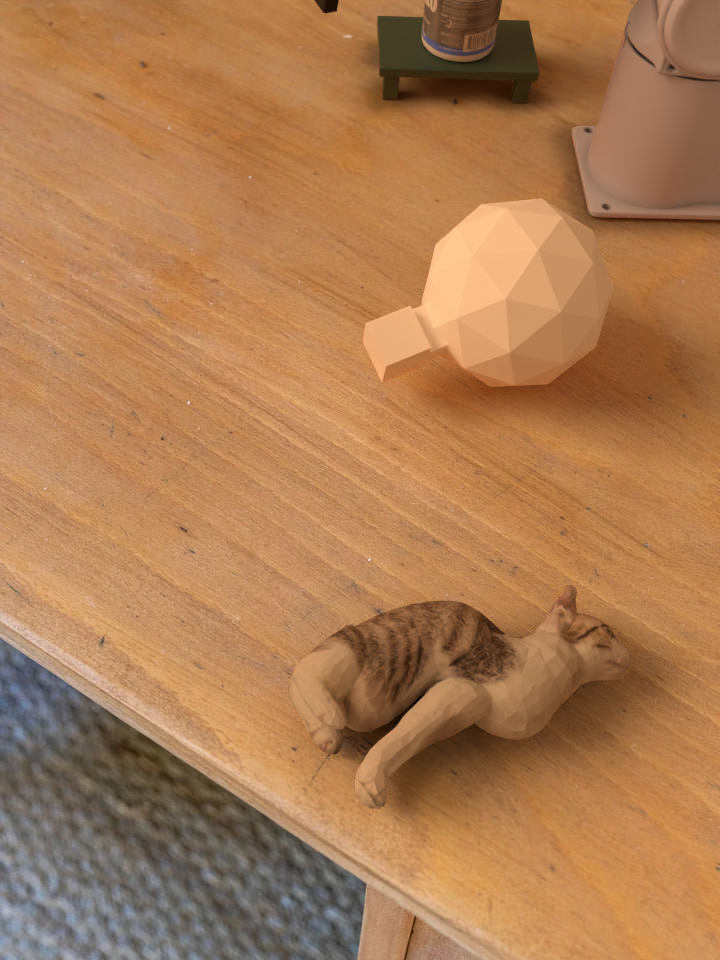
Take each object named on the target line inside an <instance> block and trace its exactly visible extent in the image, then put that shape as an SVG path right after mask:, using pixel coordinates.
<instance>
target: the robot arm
mask: <svg viewBox="0 0 720 960" xmlns="http://www.w3.org/2000/svg"><path fill="white" fill-rule="evenodd" d="M313 1H314V2H315V4H316V5H317V6H318V8H319V9H320V11H321V12H322V13H323V14H331V13H335V12H336V13H337V11H338V6H339V2H340V0H313ZM625 23H626V24H625V26H624V27H625V28H624V30H623V34H622V37H621V40H620V44H619V47H618V51H617V54H616V58H615V60H614V64H613V68H612V71H611V75H610V78H609V81H608V84H607V88H606V91H605V95H604V97H603V101H602V105H601V107H600V108H601V109H600V112H599V115H598V118H597V121H596V125H575V126H573V127H572V129H571V133H570V134H571V135H570V136H571V139H572V144H573V149H574V153H575V158H576V163H577V168H578V171H579V177H580V181H581V184H582V185H581V186H582V190H583V195H584V199H585V203H586V204H585V205H586V209H587V212H588V214H589V215H590V216H591V217H595V218H611V219H612V218H613V219H614V218H615V219H656V220H700V221H702V220H703V221H720V0H637V1H636V2H635V4H634V5H633V6H632V7H631V9H630V11H629V13H628V16H627V19H626V22H625Z"/></svg>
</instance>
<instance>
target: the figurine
mask: <svg viewBox="0 0 720 960" xmlns="http://www.w3.org/2000/svg"><path fill="white" fill-rule="evenodd" d="M577 596H578V589H577V587H576V586H574V585H573V584H568V585H565V587H564V590H563V591H562V593H561V595H560V596H558V597H557V599H556V600H555V601H554V602H553V604H552V606H551V609H550V610H549V612H548V613H547V615H546V618H545V620H544V621H543V622H542V623H539V624H538V626H537V627H536V628H535V630H534V633H531V634H529V635H527V636H524V637H522V638H518V637H517V638H516V637H512V636H510V635H508V633H506V632H504V631H503V630H502V629H500V628H499V627H498V626H497V625H496V624H495V623H494V622H493V621H492V620H490V619H489V618H488V617H487V616H486V615H484V613H482V612H481V611H479V610H478V609H476V608H475V607H473V606H471V605H469V604H466V603H464V602H462V601H455V600H428V601H424V602H417V603H410V604H407V605H403V606H399V607H397V608H393V609H391V610H388V611H385V612H382V613H379V614H377V615H375V616H372V617H371V618H369V619H366V620H365V621H362V622H360V623H358V624H356V625H353V624H348V625H345V626H343V627H342V628H341V629H339V630H337V631H336V632H333V634H331V635H330V636H329V637H327V638H326V639H324V640H323V641H322V642H320V643H319V644H317V645H316V646H315V647H314V648H313V649H312V650H311V651H310V652H309V653H308V654H306V656H305V657H303V658H302V659H301V660H299V661H298V662H297V663H296V665H295V667H294V669H293V671H292V674H291V675H292V676H291V678H290V679H289V680H288V687H287V689H288V695H289V699H290V701H291V704H292V706H293V707H294V709H295V711H296V713H297V714H298V716H299V718H300V720H301V721H302V724H303V725H304V728H305V729H306V731H307V732H308V734H309V736H310V737H311V739H312V740H313V741H314V742H315V744H316V746H318V748H319V749H320V750H321V751H322V752H324V753H326V754H329V755H337V754H338V753H339V752H340V751H341V750H342V747H343V746H344V731H343V730H344V729H345V727H347V728H348V729H350V730H352V731H354V732H357V733H371V732H373V731H374V730H376V729H379V728H380V727H382V726H384V725H387V724H389V723H391V722H392V721H393V720H394V719H395V718H396V717H397V716H399V715H401V714H403V713H404V712H405V711H406V710H407V709H408V708H409V707H411V706H412V705H413V704H414V703H415V702H416V701H417V700H418V699H419V698H420V697H421V696H422V695H423V696H422V697H421V698H420V699H419V700H418V701H417V702H416V703H415V704H414V705H413V706H412V707H411V708H410V709H409V710H408V711H406V713H404V715H403V716H402V717H401V719H400V720H399V722H398V723H397V724H396V726H395V727H394V728H393V729H392V730H390V731H389V732H388V733H387V734H385V735H384V736H383V737H382V738H380V739H379V740H378V741H377V742H376V743H375V744H374V745H373V746H372V747H371V748H370V749H369V750H368V752H367V754H366V755H365V756H364V758H363V760H362V762H361V763H360V764H359V766H358V767H357V771H356V773H355V777H354V793H355V796H356V798H357V799H358V800H359V802H360V804H362V805H364V806H366V807H367V808H370V809H371V810H381V808H385V805H386V803H387V799H388V784H389V780H390V777H391V776H392V775H393V774H394V773H395V772H396V771H397V770H398V769H399V768H400V767H401V766H402V765H403V764H404V763H405V762H407V761H408V760H410V759H411V758H413V757H414V756H416V755H418V754H419V753H421V752H422V751H424V750H425V749H427V748H428V747H429V746H432V745H433V744H435V743H436V742H441V741H445V740H447V739H449V738H451V737H453V736H455V735H457V734H459V732H461V731H463V730H465V729H467V728H470V727H471V726H473V725H475V726H477V727H478V728H479V729H481V730H483V731H485V732H486V733H488V734H490V735H491V736H495V737H499V738H501V739H504V740H512V741H517V740H518V741H519V740H525V739H529V738H531V737H533V736H534V735H536V734H537V733H539V732H540V731H542V730H543V729H544V728H545V727H546V726H547V724H548V723H549V722H550V721H551V720H552V718H553V716H554V714H555V713H556V712H557V710H558V709H559V708H560V707H561V706H562V705H563V704H564V703H565V702H566V701H567V700H568V699H569V698H570V697H571V696H572V695H574V693H575V691H576V690H577V689H578V688H579V687H580V686H582V685H584V684H586V683H589V682H595V681H596V682H597V681H606V682H607V681H617V680H621V679H623V678H624V677H625V675H626V674H627V672H628V671H629V670H630V667H631V665H632V661H633V659H632V658H633V656H632V653H631V652H630V650H629V649H627V647H626V646H625V644H624V643H623V642H622V640H620V639H619V638H618V636H617V634H616V632H615V630H614V629H613V628H612V627H611V626H610V625H609V623H607V622H606V621H603V620H601V619H599V618H597V617H594V616H592V615H589V614H585V613H580V612H578V609H577Z"/></svg>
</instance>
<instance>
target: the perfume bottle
mask: <svg viewBox="0 0 720 960" xmlns="http://www.w3.org/2000/svg"><path fill="white" fill-rule="evenodd" d="M431 257H432V258H431V261H430V262H431V263H430V266H429V269H428V274H427V278H426V282H425V286H424V290H423V294H422V298H421V305H419V306H417V307H414V308H413V307H412V305H408V306H405V307H403V308H400V309H397V310H395V311H393V312H390V313H388V314H385V315H382V316H380V317H377V318H375V319H372V320H370V321H368V322H365V324H364V330H363V331H364V332H363V337H362V344H363V346H364V348H365V350H366V352H367V354H368V356H369V359H370V360H371V362H372V365H373V367H374V370H375V371H376V374H377V375H378V377H379V379H380V381H381V383H382V384H383V383H385V382H388V381H391V380H393V379H396V378H399V377H401V376H403V375H405V374H406V375H407V374H408V373H411V372H413V371H415V370H418V369H421V368H423V367H425V366H426V364H427V362H429V361H431V360H433V359H436V358H438V357H441V356H442V357H443V358H445V359H447V361H449V362H451V363H452V364H454V365H456V367H459V369H462V371H464V372H466V373H468V374H470V375H471V376H473V378H476V379H477V380H479V381H480V382H481V383H483V384H485V386H487V387H489V388H495V387H496V388H498V387H515V386H516V387H519V386H538V385H539V386H540V385H550V383H552V382H553V381H554V380H556V379H557V378H559V376H561V375H562V374H564V373H565V372H566V371H567V370H569V369H570V368H571V367H572V366H574V365H575V364H576V363H577V362H579V361H580V360H581V359H583V358H584V357H586V356H587V355H588V354H589V353H590V352H592V351H593V350H594V349H595V348H596V347H597V345H598V342H599V339H600V335H601V331H602V329H603V325H604V322H605V318H606V315H607V312H608V309H609V305H610V303H611V299H612V296H613V294H614V293H613V292H614V289H615V288H614V285H613V282H612V279H611V276H610V274H609V271H608V268H607V266H606V262H605V260H604V257H603V254H602V252H601V248H600V245H599V243H598V240H597V238H596V235H595V232H594V230H593V229H591V228H590V227H588V226H587V225H585V224H584V223H582V222H580V221H579V220H577V219H576V218H574V217H572V216H571V215H570V214H567V212H565V211H563V210H561V209H560V208H558V207H556V206H555V205H553V204H551V203H550V202H548V201H547V200H545V199H544V198H531V199H521V200H509V201H500V202H489V203H480V204H479V205H478V207H476V208H475V209H474V210H473V211H471V213H469V214H468V215H467V216H465V218H464V219H462V220H461V221H460V222H459V223H458V224H457V225H456V226H455V227H453V228H452V229H451V230H450V231H449V232H448V233H446V234H445V235H444V236H443V237H442V238H441V239H440V240H439V241H438V242H436V244H435V246H434V250H433V254H432V256H431Z"/></svg>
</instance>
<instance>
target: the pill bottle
mask: <svg viewBox="0 0 720 960" xmlns="http://www.w3.org/2000/svg"><path fill="white" fill-rule="evenodd" d="M502 3H503V0H424V6H423V16H422V17H423V25H422V42H423V45H424V46H425V47H426V48H427V50H428V51H429V52H431V53H432V54H433V55H435V56H437V57H439V58H442V59H445V60H449V61H455V62H471V61H476V60H479V59H481V58H483V57H485V56H486V55H488V54H489V53H490V51H491V50H492V49H493V46H494V44H495V39H496V34H497V28H498V22H499V20H500V15H501V11H502Z"/></svg>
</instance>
